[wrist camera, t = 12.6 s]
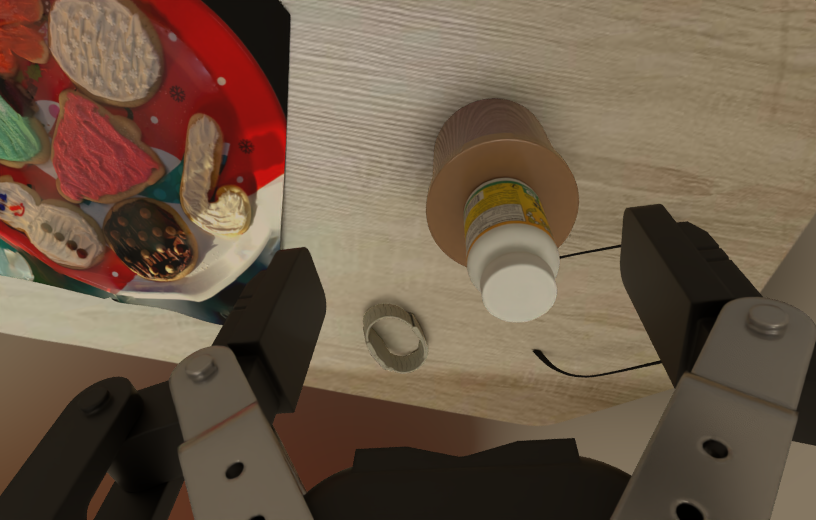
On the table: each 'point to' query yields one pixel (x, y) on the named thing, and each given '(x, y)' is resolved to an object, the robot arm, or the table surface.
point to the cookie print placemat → (143, 147)
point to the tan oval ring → (378, 347)
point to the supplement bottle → (510, 250)
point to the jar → (495, 169)
